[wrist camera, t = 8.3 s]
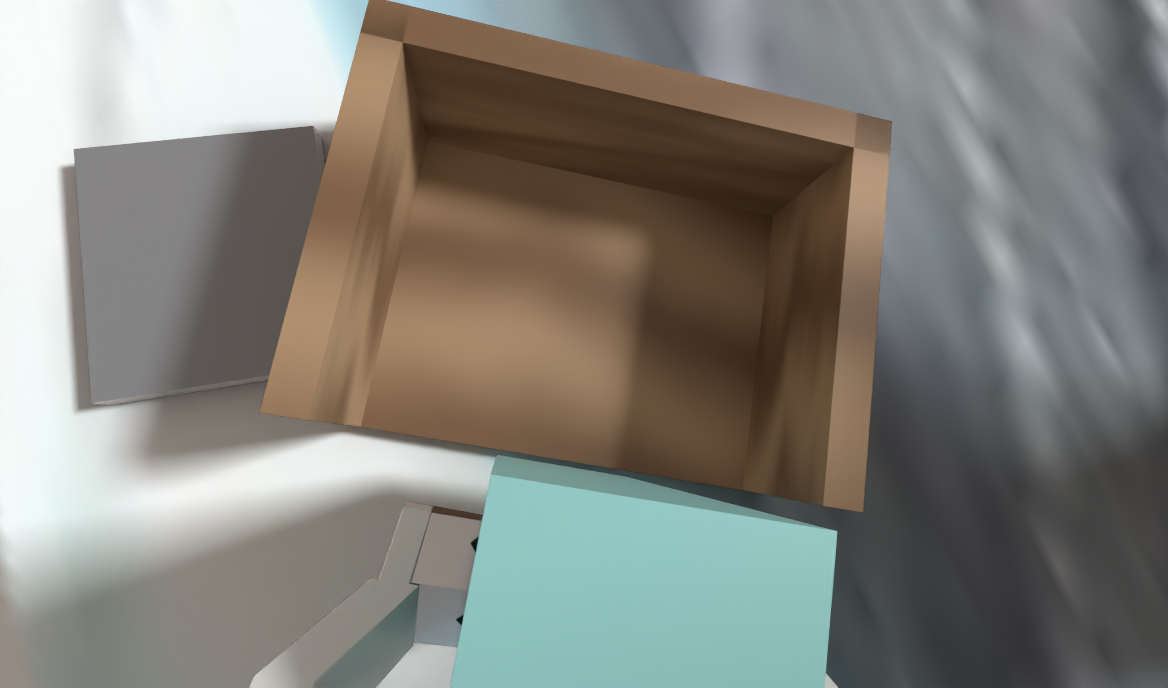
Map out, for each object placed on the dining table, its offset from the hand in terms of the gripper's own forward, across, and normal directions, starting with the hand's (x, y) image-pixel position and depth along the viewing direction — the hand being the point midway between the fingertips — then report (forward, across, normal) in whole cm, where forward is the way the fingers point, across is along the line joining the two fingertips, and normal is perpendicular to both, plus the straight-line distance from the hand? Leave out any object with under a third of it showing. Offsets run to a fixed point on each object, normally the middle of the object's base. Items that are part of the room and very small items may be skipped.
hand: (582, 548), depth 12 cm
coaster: (+12, +13, +3) cm, 18 cm away
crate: (+12, 0, +2) cm, 13 cm away
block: (+4, 0, +5) cm, 7 cm away
